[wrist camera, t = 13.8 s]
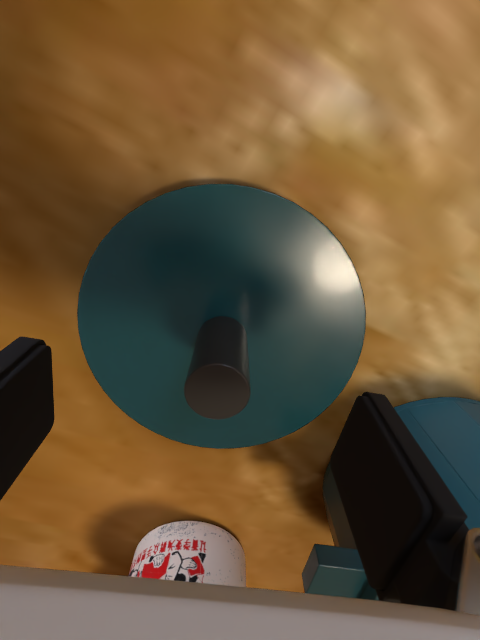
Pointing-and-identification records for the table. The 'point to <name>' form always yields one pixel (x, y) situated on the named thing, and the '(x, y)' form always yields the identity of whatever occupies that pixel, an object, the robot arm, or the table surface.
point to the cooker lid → (221, 316)
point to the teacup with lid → (190, 555)
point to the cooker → (446, 457)
